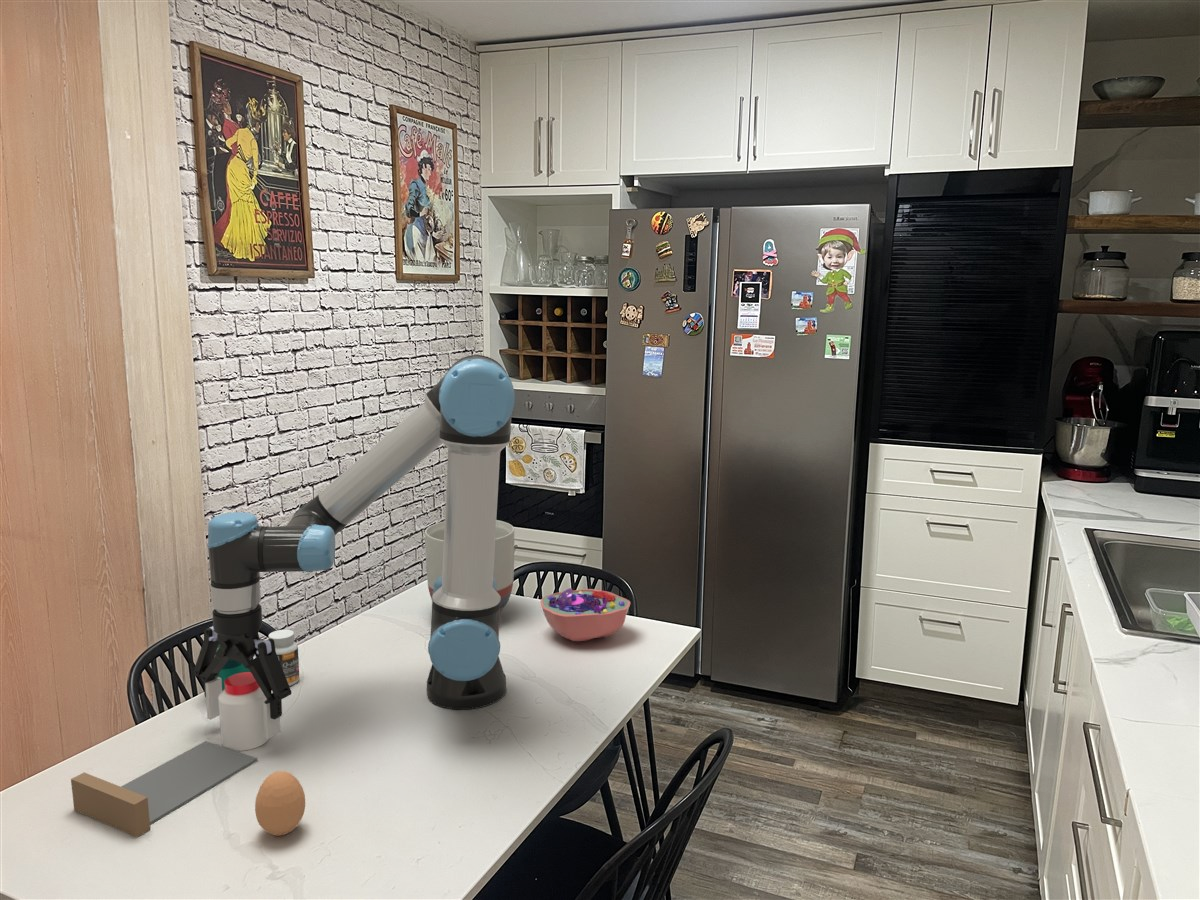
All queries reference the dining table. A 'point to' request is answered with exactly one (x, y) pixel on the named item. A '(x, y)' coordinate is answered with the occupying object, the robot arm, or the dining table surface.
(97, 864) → the dining table surface
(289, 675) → the pill bottle
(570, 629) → the cell model
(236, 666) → the cup
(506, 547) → the planter
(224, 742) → the pill bottle
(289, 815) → the egg
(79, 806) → the track
